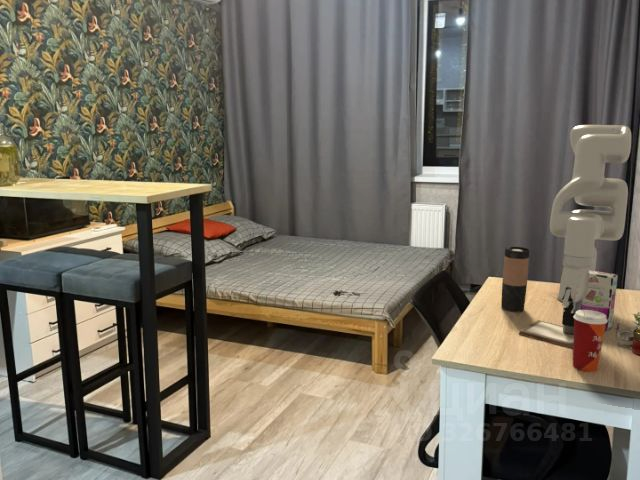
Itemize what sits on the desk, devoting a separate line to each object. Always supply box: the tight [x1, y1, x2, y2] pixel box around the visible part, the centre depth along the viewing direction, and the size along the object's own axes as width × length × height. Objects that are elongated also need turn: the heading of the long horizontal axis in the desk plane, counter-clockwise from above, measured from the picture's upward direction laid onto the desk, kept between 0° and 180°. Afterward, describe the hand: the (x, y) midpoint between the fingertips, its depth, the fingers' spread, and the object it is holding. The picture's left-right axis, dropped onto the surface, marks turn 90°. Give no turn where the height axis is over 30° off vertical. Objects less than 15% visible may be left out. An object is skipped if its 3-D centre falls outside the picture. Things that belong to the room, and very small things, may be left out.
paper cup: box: [572, 310, 608, 373], centre depth 144 cm, size 8×8×14 cm
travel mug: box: [500, 246, 531, 313], centre depth 189 cm, size 8×8×20 cm
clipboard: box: [518, 319, 574, 349], centre depth 166 cm, size 13×16×2 cm
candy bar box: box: [581, 270, 619, 331], centre depth 174 cm, size 11×5×16 cm, turn 47°
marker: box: [562, 299, 581, 335], centre depth 164 cm, size 4×4×13 cm
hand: (571, 322), depth 165 cm, fingers closed on marker, 3 cm apart
